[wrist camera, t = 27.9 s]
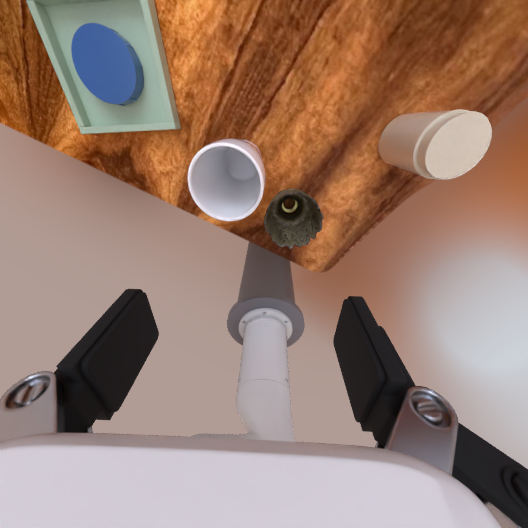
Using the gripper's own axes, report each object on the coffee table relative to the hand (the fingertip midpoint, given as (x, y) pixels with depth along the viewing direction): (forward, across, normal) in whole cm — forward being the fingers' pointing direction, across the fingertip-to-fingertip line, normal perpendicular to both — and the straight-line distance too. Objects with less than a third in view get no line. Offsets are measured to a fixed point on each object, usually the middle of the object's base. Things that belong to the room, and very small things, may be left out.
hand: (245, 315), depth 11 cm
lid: (+25, +18, -13) cm, 33 cm away
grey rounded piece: (+27, -4, +2) cm, 28 cm away
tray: (+27, +18, -13) cm, 35 cm away
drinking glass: (+27, +3, -4) cm, 28 cm away
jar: (+27, -19, -7) cm, 33 cm away
